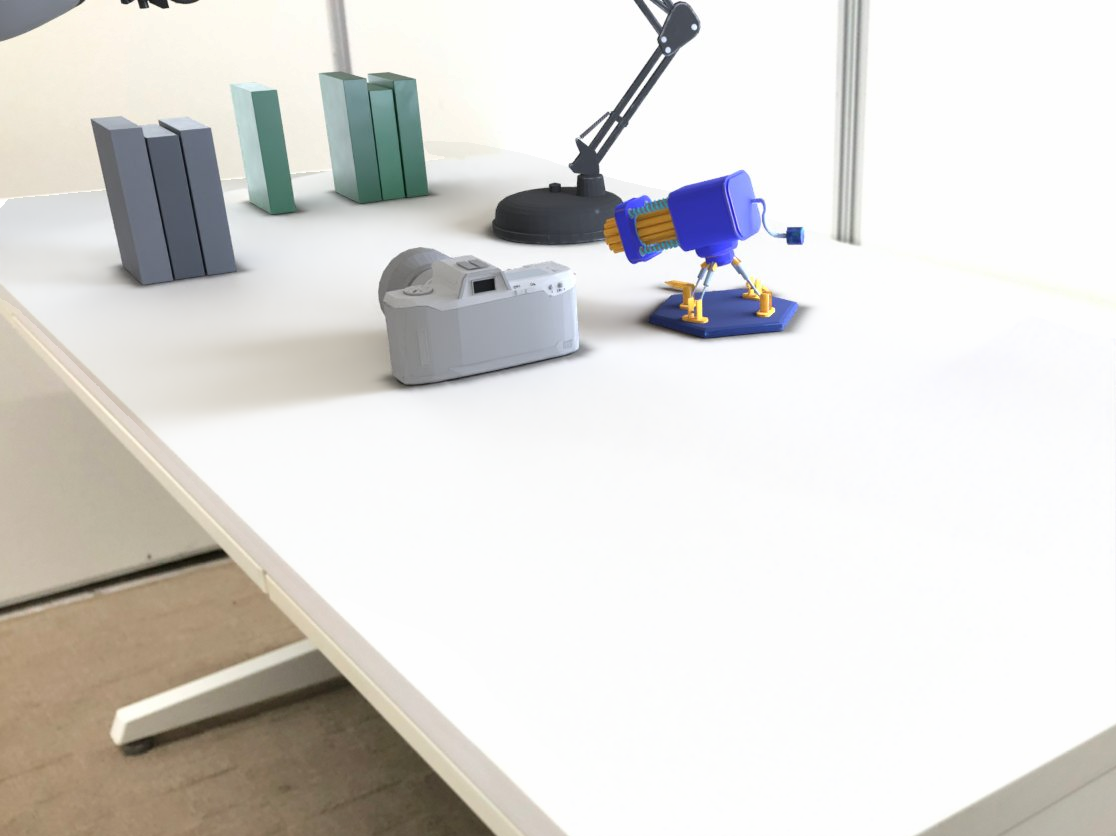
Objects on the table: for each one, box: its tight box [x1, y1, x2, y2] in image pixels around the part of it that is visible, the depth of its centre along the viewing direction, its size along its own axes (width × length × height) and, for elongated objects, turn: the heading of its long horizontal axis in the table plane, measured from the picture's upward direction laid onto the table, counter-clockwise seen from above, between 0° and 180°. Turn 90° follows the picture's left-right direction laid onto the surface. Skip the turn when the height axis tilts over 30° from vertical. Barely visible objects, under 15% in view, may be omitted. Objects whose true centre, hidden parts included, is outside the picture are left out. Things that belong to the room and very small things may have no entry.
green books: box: [318, 71, 429, 204], centre depth 164 cm, size 9×9×14 cm
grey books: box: [90, 115, 238, 286], centre depth 130 cm, size 9×9×15 cm
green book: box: [229, 81, 297, 215], centre depth 157 cm, size 9×3×14 cm, turn 34°
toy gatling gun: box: [604, 169, 805, 339], centre depth 116 cm, size 14×18×13 cm
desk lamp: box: [491, 0, 701, 245], centre depth 139 cm, size 24×26×45 cm
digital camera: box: [377, 246, 580, 386], centre depth 107 cm, size 17×14×10 cm
